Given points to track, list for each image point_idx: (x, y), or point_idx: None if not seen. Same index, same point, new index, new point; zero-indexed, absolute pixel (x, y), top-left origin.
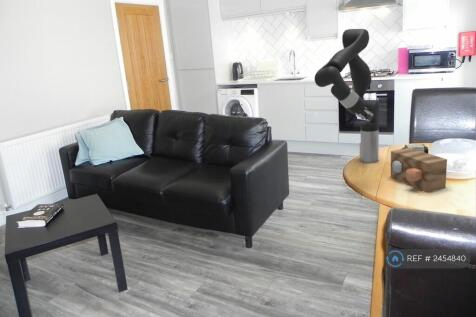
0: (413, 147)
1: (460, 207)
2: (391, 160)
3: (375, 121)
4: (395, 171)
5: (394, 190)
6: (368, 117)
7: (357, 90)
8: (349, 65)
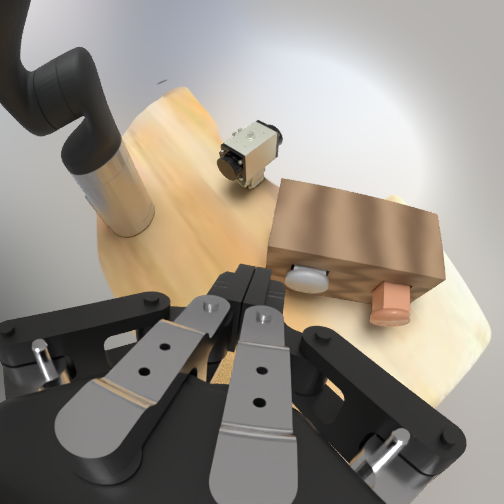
0: (256, 148)
1: (473, 321)
2: (270, 263)
3: (284, 291)
4: (300, 290)
5: None
6: (345, 454)
7: None
8: None
